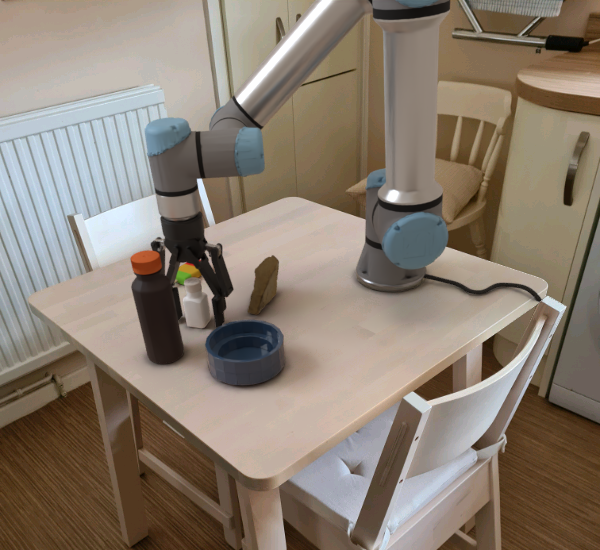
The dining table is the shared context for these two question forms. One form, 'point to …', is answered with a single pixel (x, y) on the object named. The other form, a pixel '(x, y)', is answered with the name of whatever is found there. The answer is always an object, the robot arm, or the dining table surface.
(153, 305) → the vinegar
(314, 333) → the dining table surface
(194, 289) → the pepper shaker
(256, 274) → the rock
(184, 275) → the popsicle
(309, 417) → the dining table surface
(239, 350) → the bowl
